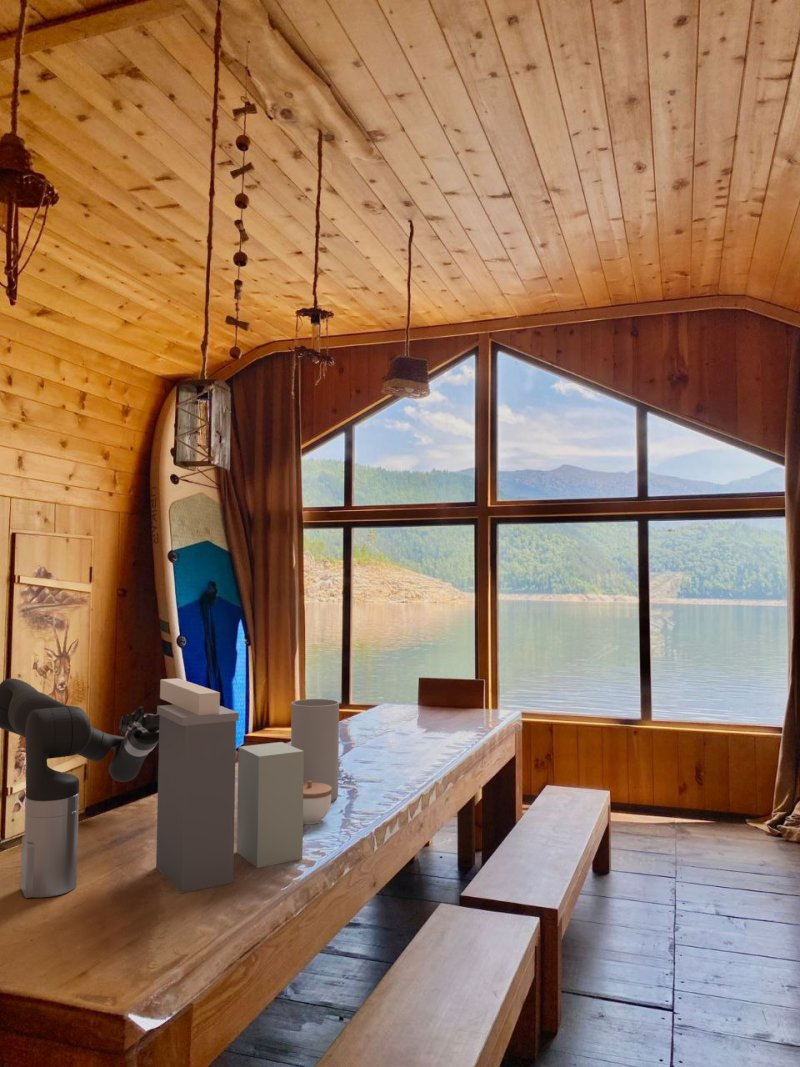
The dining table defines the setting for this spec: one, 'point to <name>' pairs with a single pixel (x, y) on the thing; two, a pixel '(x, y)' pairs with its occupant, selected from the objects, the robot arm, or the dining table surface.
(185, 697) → the cream block
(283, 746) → the sage-grey block
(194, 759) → the charcoal stand
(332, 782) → the cylinder vase
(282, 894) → the dining table surface
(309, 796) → the lidded jar
